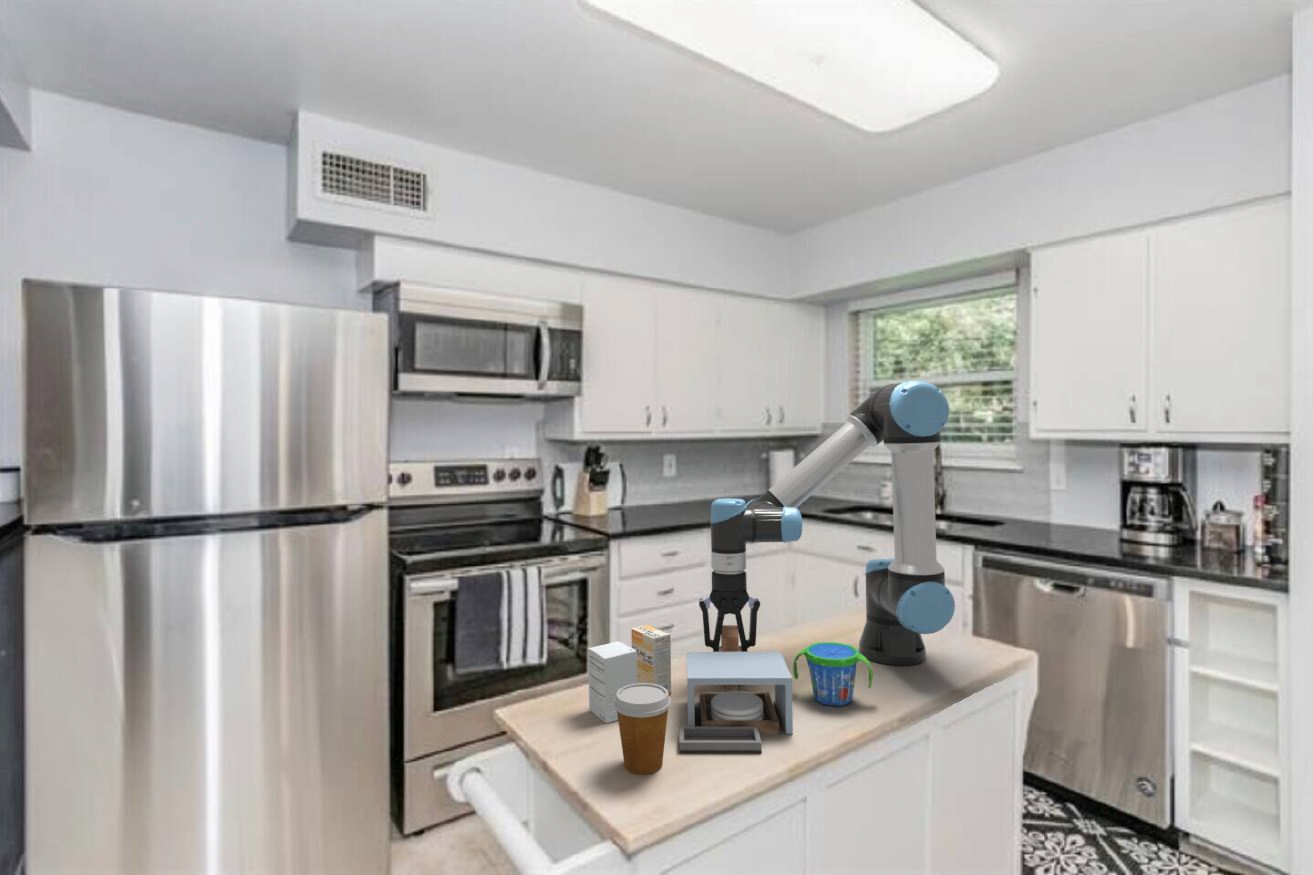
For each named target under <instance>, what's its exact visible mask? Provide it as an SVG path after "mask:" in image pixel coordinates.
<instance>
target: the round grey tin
mask: <svg viewBox="0 0 1313 875" xmlns="http://www.w3.org/2000/svg"><path fill="white" fill-rule="evenodd" d="M721 692H722V693H719V694H717V695H716V696H714V697H713V698H712V700H711V704H710V705H711V706H710V711H711V712H710V717H711V720H712V721H764V708H763V707H764V704H763V701H762V700H761V699H760V698H759V697H758V696H756V695H754V694H752V693H748V692H749V691H742V690H738V691H727V690H726V691H721Z"/></svg>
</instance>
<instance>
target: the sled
mask: <svg viewBox="0 0 1313 875" xmlns="http://www.w3.org/2000/svg"><path fill="white" fill-rule="evenodd" d="M739 642H740V637H739V630H738V627H737V624H736V625H735V624H723V626H722V632H721V638H720V644H721V645H720V646H722V652H739V646H740V644H739ZM723 686H724V687H726V692H727V691H739V690H738V686H740V685H722V687H723ZM722 692H723V691H699V695H698V696H699V699H698V700H699V713H700V714H699V715H700V727H758V731H759V735H779V734H780V721H779V719H778V718H779V717H778V716H777V713H776V710H775V705H774V704H773V701H772V697H771V695H770V692H769V691H747V692H748V693H752V694H754V695H756V696H758V697H759V698H760V699H761V700H762V701H763V705H764V706H765V709H766V714H767V715H768V716H767V717H768V720H762V721H713V720H708V719H707V718H708V717H707V707H706V705H711V700H712V698H713V697H714V696H716V695H717V694H719V693H722Z"/></svg>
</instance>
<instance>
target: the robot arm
mask: <svg viewBox="0 0 1313 875" xmlns="http://www.w3.org/2000/svg"><path fill="white" fill-rule="evenodd" d="M949 415H950V407H949V401H948V400H947V397H946V395H945V394H944V393H943V391H942V390H941V389H940V388H938V387H937V386H936V385H934V384H932V383H930V382H927V381H922V380H921V381H920V380H919V381H918V380H909V381H904V382H899V383H891V384H887V385H885V386H882V387H880V388H879V389H878V390H875V391H874V392H873V393H872V394H871V395H870V396H869V397H868V398H866V400H864V401H863V402H862V403H861V404H860V405H859V406H857V407H856V409H854V410H853V411H852V412H851V413H850V414H849V415H847V417H846V423H844V425H842V426H841V427H840V428H839V429H838V430H836V431H835V432H834V433H833V434H832V435H831V436H829V437H828V438H827V439H826V440H825V441H823V442H822V443H821V444H820V445H819V446H818V447H817V448H815V449H814V450H813V451H812V452H811V453H809V455H807V456H806V457H805V458H804V459H802V461H800V462H799V463H798V464H797V465H796V466H794V467H793V468H792V469H790V471H788V473H786V474H785V475H783V477H781V478H780V479H779V480H778V481H777V482H775V484H774V485H772V486H771V487H770V488H768V490H767V491H765V492H764V493H762V495H760V496H759V497H758V498H754V499H751V500H750V501H748V502H747V503H746V501H745V499H741V498H716V499H715V500H713V501H712V503H711V508H710V511H711V512H710V520H709V521H710V543H711V544H710V547H711V550H710V551H711V555H710V556H711V561H710V562H711V563H710V564H711V566H710V567H711V569H712V572H711V592H710V594H709V596H708V597H705V598H700V599H699V600H698V605H699V608H700V610H701V612H702V624H703V638H704V646H706V647H709V648H711V649H712V652H722V646H721V645H720V644H721V632H722V626H723V625H724V619H725V617H726V616H725V615H728V614H729V615H735V622H736V625H737V627H738V630H739V642H740V645H739V652H748V649H749V648H750V647H751V648H752V647H755V646H756V645H757V625H758V624H757V622H758V611H759V609H760V608H761V607H760V606H761V602H760V599H759V598H758V597H757V598H753V597H751V596H750V595H749V593H748V590H747V589H748V587H747V572H746V569H747V543H748V544H749V543H750V544H752V543H784V544H786V543H789V542H790V543H791V542H797V541H799V540H800V539H801V537H802V533H803V517H802V514H801V512H800V510H799V509H798V507H799V506H801V505H802V504H803V503H804V502H805V501H807V500H808V499H809V498H810V497H811V496H812V495H813V494H815V493H816V492H817V491H818V490H819V489H821V488H822V487H823V486H824V485H825V484H826V483H828V482H829V481H831V479H833V478H834V476H836V475H837V474H839V473H840V471H842V470H844V468H845V467H847V465H849V464H850V463H851V462H852V461H853V460H854V459H856V458H857V457H858V456H859V455H861V454H862V453H863V452H864V451H865V450H866V449H868V448H869V447H873V448H875V447H877V446H878V445H879V444H880V443H881V442H883V445H884V446H885V447H886V448H887V449H888V450H889V451H890V454H891V478H892V479H891V484H892V513H893V516H892V517H893V539H894V540H893V542H894V543H893V544H894V545H893V546H894V547H893V548H894V558H877V559H876V558H875V559H870V560H868V561H867V562H866V564H865V573H864V575H865V608H866V609H865V611H866V614H865V615H866V617H865V618H866V620H865V624H864V627H863V630H862V633H861V635H860V639H859V642H858V651H859V653H860V654H862V655H863V656H865V657H866V658H867V660H868V661H871V662H874V663H879V664H883V665H884V664H885V665H891V666H913V665H917V664H921V663H923V662H925V661H926V658H927V651H926V650H927V649H926V646H925V642H924V640H923V637H922V635H931V634H935V633H937V632H940V631H941V630H943V629H944V628H945V627H946V626H947V625H948V624H950V622H951V621H952V619H953V617H954V614H955V610H956V609H955V608H956V604H955V603H956V602H955V599H954V596H953V594H952V592H951V590H949V588H947V586H946V581H945V578H946V577H945V576H946V574H945V568H944V566H943V565H941V564H940V563H939V561H938V560H937V535H936V534H937V533H936V507H935V506H936V500H935V499H936V498H935V469H934V466H935V464H934V450H935V449H936V448H937V447H938V446H939V445H940V444H941V443H942V442H941V430H942V429H943V428H944V427H945V425H946V424H947V422H948V420H949V419H948V418H949ZM711 603H712V604H713V606H714V607H715V609H716V610H717V616H716V621H715V627H714V634H713V639H711V632H710V631H711V630H710V618H709V617H710V616H709V609H710V607H711ZM747 603H748V607H749V608H750V610H749V611H750V612H749V630H748V632H749V634H748V638H746V633H745V628H744V623H743V617H742V613H741V611H742V610H743V609H744V607H745V606H746V605H747Z"/></svg>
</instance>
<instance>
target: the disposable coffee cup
mask: <svg viewBox="0 0 1313 875" xmlns="http://www.w3.org/2000/svg"><path fill="white" fill-rule="evenodd" d="M671 704H672V699H671V697H670V695H669V694H668V691H667V690H666V689H665V688H664V687H662V686H660V685H656V684H651V683H637V684H631V685H627V686H625V687H623V688H620V689H619V690H618V691H617V694H616V698H615V699H614V706H615V708H616V710H617V715H618V720H617V722H618V730H619V736H620V742H621V744H620V745H621V750H622V756H623V757H622V758H623V765H624V769H625V770H626V771H628V772H629V773H632V774H636V775H649V774H653V773H655V772H658V771H659V770H661V769H662V767H663V763H664V762H663V761H664V760H663V759H664V752H665V743H666V734H667V726H668V725H667V724H668V714H669V708H670V706H671Z"/></svg>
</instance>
